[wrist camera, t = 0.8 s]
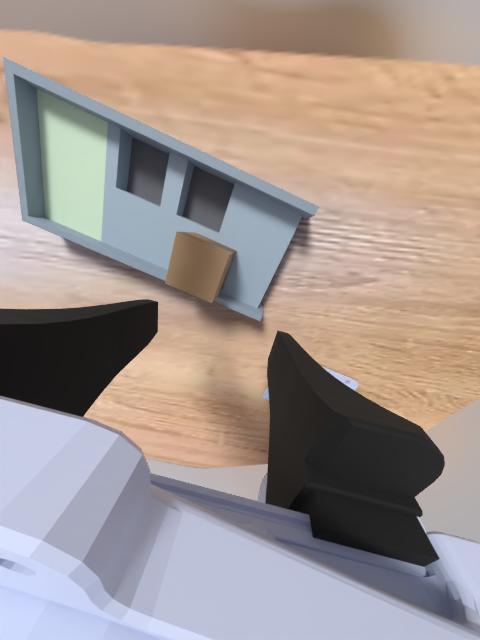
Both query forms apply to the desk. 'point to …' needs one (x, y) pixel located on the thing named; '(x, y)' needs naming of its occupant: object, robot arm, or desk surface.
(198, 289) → the block
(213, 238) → the box
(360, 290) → the desk surface
